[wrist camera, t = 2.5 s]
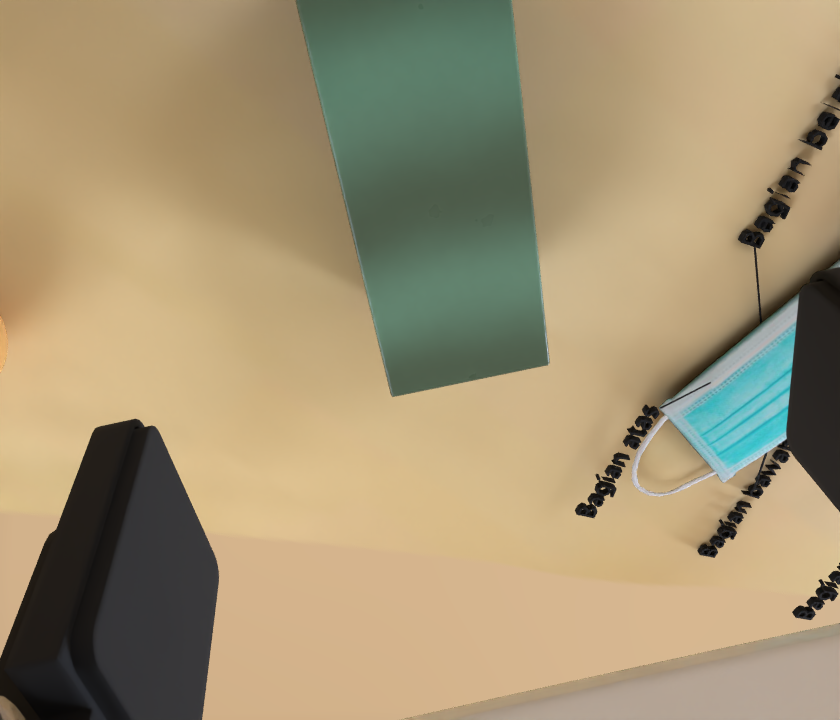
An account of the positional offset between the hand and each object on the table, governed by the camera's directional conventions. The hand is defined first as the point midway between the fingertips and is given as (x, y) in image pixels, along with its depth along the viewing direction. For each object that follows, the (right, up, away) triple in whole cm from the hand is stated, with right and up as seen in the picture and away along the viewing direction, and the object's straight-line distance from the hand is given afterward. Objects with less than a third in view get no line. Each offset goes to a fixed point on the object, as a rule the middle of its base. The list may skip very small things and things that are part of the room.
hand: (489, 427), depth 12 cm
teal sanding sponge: (-1, +8, +12) cm, 14 cm away
